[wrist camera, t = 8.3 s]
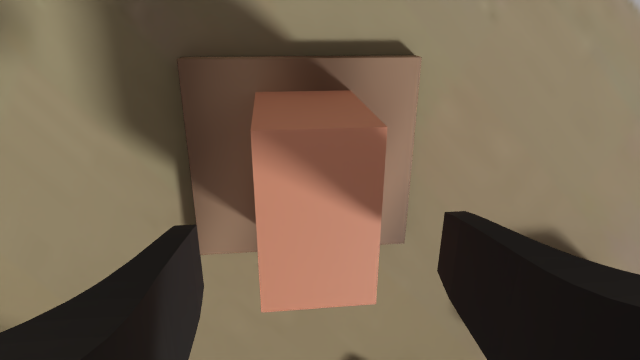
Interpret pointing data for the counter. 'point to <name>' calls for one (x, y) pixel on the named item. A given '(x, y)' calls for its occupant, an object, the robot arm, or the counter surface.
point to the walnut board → (235, 132)
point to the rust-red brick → (317, 198)
